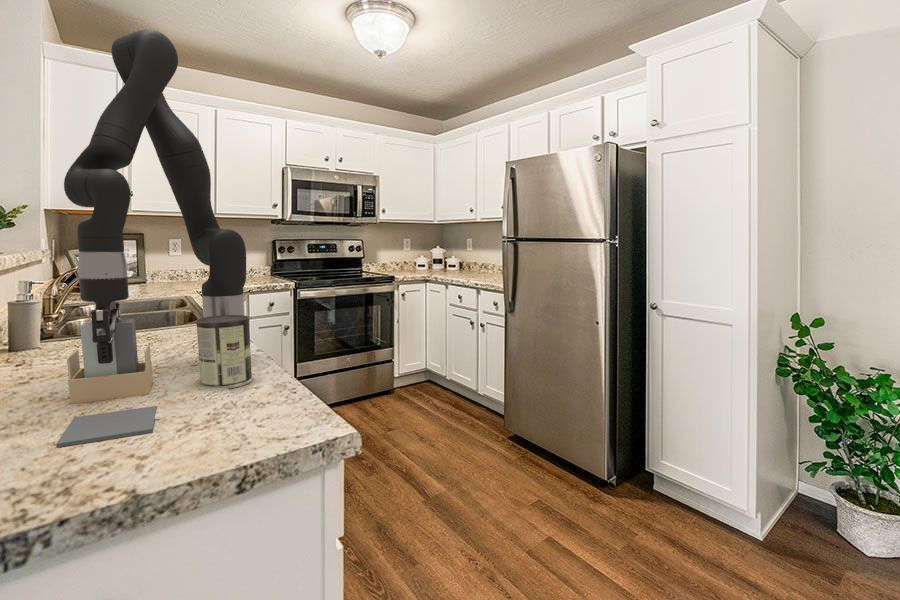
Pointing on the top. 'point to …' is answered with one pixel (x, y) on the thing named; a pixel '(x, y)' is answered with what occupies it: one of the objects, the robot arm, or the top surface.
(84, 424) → the mat
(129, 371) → the box
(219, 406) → the top surface
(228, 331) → the coffee can
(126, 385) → the carton
